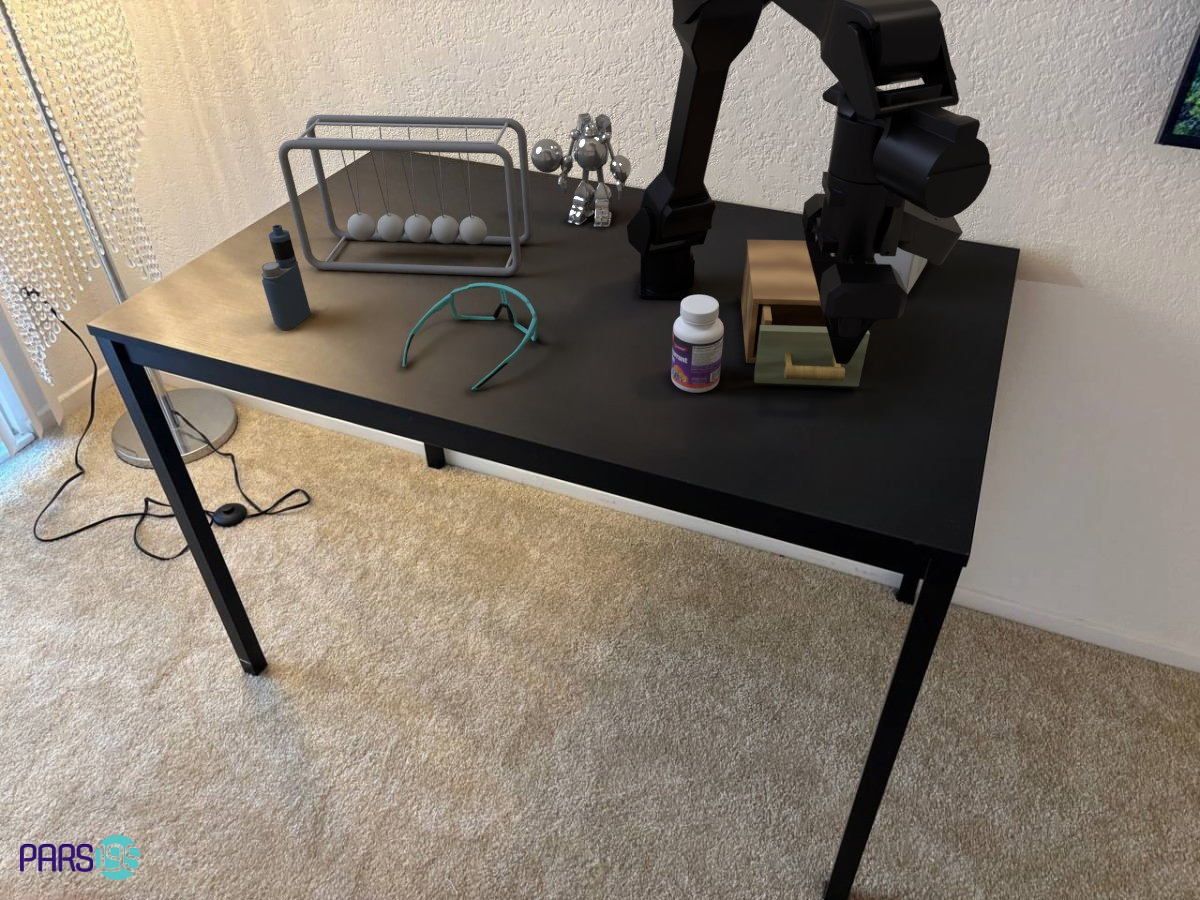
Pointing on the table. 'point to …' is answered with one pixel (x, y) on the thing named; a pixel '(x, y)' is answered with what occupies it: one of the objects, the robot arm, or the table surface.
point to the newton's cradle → (415, 225)
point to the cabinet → (774, 282)
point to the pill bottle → (697, 344)
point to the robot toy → (585, 167)
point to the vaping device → (284, 283)
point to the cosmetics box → (904, 266)
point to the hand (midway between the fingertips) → (835, 335)
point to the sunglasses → (511, 315)
